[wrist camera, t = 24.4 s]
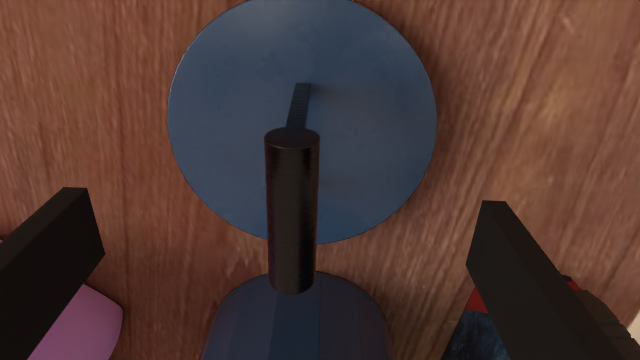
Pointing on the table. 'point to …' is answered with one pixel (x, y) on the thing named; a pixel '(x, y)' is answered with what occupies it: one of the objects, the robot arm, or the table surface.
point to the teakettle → (82, 329)
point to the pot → (298, 324)
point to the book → (479, 333)
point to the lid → (301, 125)
